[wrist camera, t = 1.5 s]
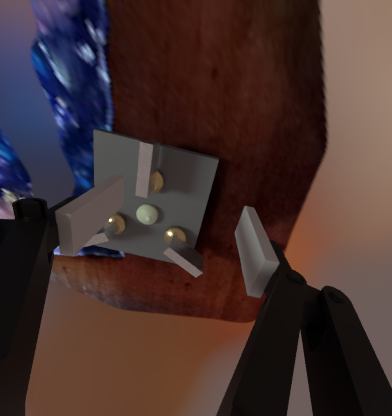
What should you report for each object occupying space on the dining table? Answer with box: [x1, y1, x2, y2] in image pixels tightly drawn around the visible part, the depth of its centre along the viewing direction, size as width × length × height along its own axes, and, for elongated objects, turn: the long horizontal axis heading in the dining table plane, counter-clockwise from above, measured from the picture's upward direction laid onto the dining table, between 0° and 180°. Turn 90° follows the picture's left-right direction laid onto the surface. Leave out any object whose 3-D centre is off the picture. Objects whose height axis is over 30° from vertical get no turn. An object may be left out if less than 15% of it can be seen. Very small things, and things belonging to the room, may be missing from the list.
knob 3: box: [163, 226, 204, 277], centre depth 36 cm, size 9×4×6 cm, turn 47°
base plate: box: [94, 129, 219, 264], centre depth 37 cm, size 24×21×3 cm
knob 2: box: [135, 138, 164, 198], centre depth 30 cm, size 9×4×6 cm, turn 167°
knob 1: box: [83, 213, 127, 247], centre depth 36 cm, size 9×4×6 cm, turn 107°
